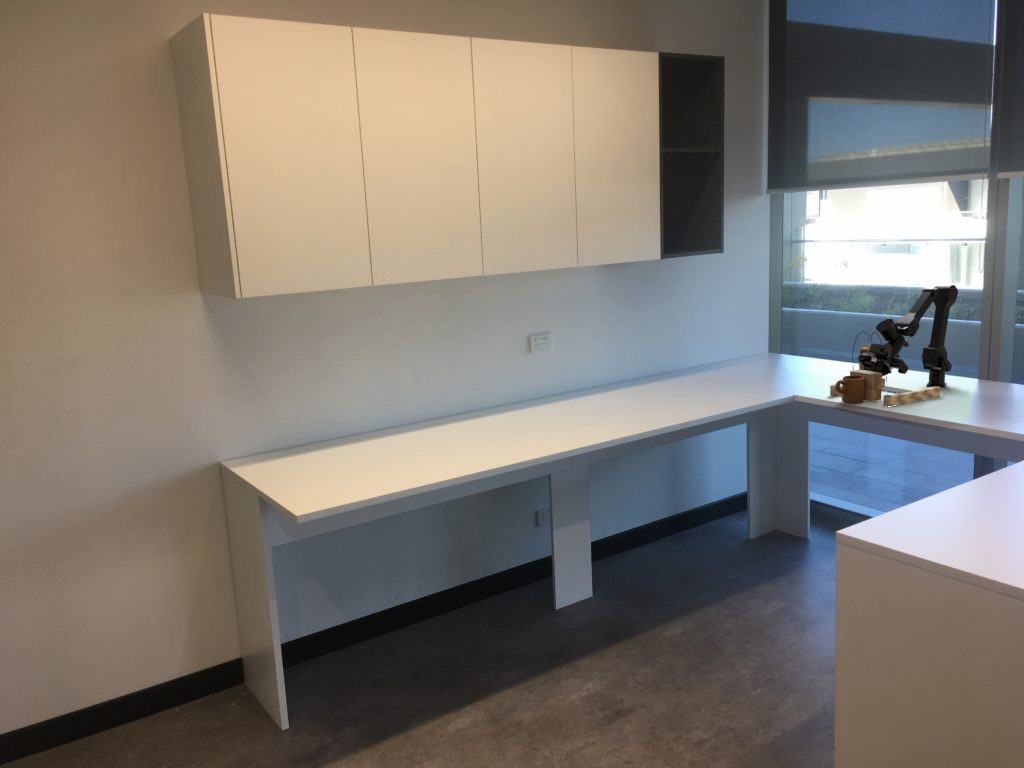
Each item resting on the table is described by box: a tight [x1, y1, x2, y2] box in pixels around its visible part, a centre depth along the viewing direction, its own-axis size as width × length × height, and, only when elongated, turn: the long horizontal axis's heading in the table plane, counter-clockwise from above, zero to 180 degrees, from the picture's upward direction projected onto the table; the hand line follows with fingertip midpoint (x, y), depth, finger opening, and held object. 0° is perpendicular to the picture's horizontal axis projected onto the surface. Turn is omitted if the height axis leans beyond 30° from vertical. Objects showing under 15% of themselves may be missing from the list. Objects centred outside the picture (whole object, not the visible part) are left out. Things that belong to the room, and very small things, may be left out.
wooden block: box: [849, 368, 883, 403], centre depth 307 cm, size 5×10×10 cm, turn 27°
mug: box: [835, 375, 865, 405], centre depth 304 cm, size 12×8×9 cm, turn 113°
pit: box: [881, 385, 913, 394], centre depth 317 cm, size 7×21×1 cm, turn 27°
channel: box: [829, 377, 941, 408], centre depth 312 cm, size 28×26×4 cm
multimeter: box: [851, 331, 888, 382], centre depth 340 cm, size 15×10×20 cm
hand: (870, 381), depth 308 cm, fingers closed, pressing on wooden block
